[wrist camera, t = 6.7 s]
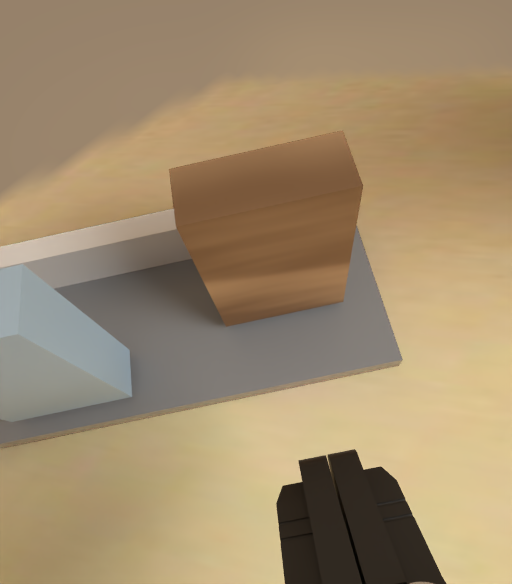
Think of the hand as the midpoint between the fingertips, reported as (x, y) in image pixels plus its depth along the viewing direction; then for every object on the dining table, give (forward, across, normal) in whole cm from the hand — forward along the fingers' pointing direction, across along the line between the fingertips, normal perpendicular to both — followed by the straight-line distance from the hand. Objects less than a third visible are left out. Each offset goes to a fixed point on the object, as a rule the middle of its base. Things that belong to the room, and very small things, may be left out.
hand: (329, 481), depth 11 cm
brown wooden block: (+12, 0, -1) cm, 12 cm away
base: (+13, +6, 0) cm, 14 cm away
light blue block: (+10, +11, +1) cm, 15 cm away
